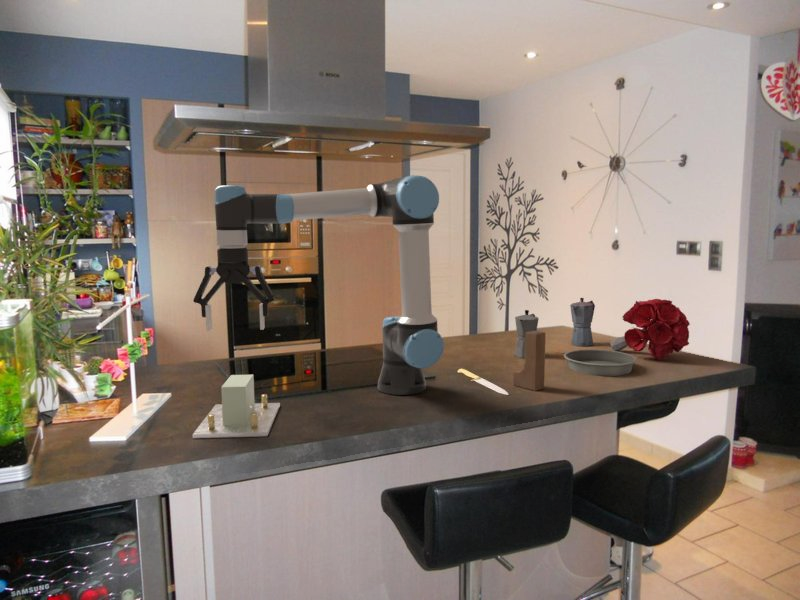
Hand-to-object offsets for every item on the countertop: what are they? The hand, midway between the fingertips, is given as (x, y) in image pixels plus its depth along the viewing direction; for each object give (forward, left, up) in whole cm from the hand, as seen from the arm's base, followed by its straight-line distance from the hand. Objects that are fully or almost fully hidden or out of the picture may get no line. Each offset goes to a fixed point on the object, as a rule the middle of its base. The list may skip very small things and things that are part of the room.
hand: (235, 329), depth 155 cm
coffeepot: (-97, -69, -25) cm, 122 cm away
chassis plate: (0, 0, -25) cm, 25 cm away
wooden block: (-85, -25, -25) cm, 92 cm away
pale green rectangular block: (0, 0, -24) cm, 24 cm away
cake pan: (-117, -47, -25) cm, 129 cm away
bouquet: (-143, -62, -25) cm, 158 cm away
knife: (-71, -32, -25) cm, 82 cm away
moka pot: (-126, -87, -25) cm, 155 cm away
